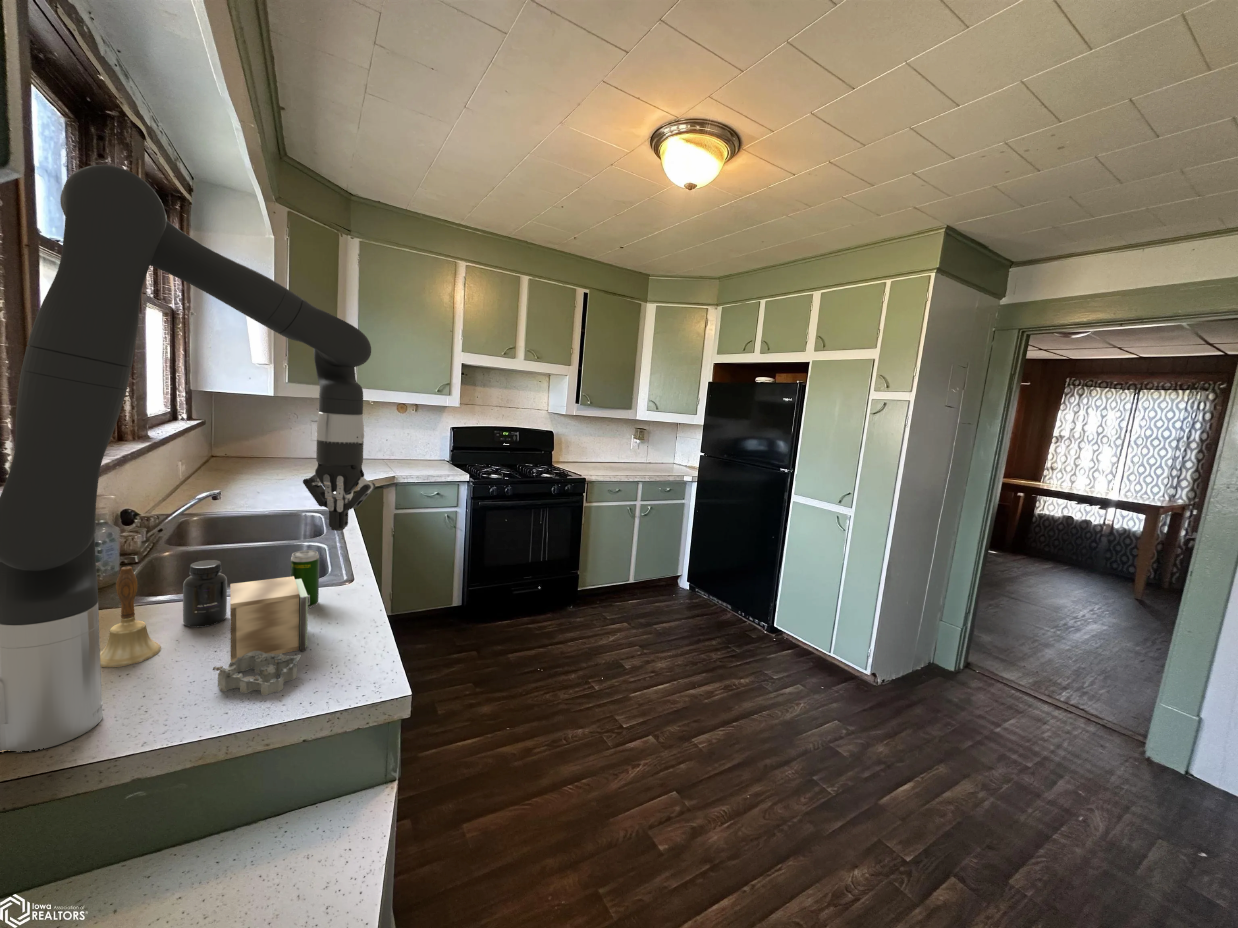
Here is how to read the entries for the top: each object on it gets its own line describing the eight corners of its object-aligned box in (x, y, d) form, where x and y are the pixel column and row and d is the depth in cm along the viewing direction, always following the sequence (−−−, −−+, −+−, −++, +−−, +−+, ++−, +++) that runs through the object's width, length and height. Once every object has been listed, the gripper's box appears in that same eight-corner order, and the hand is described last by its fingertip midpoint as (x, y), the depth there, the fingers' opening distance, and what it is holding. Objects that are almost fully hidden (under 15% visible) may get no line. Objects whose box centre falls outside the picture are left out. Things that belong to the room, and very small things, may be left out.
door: (299, 647, 93) (300, 597, 91) (293, 626, 100) (294, 579, 99) (313, 645, 94) (314, 595, 93) (306, 624, 101) (307, 577, 100)
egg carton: (208, 691, 79) (207, 667, 78) (247, 666, 86) (246, 644, 86) (271, 699, 78) (271, 675, 78) (305, 673, 86) (305, 651, 85)
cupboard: (230, 666, 85) (230, 605, 84) (230, 639, 94) (230, 583, 93) (305, 651, 92) (306, 595, 91) (299, 627, 101) (299, 575, 99)
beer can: (320, 607, 110) (321, 555, 109) (291, 612, 107) (292, 558, 105) (316, 598, 114) (317, 548, 113) (288, 603, 111) (289, 551, 109)
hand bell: (173, 648, 89) (171, 563, 87) (119, 671, 81) (116, 578, 79) (136, 640, 91) (134, 556, 89) (80, 662, 83) (76, 571, 81)
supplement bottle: (203, 630, 96) (202, 571, 95) (173, 625, 97) (172, 566, 96) (235, 616, 103) (235, 560, 101) (207, 611, 104) (207, 556, 102)
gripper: (291, 436, 87) (290, 531, 89) (364, 443, 86) (362, 538, 89) (318, 433, 94) (316, 521, 96) (386, 440, 94) (383, 528, 96)
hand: (338, 529), depth 92 cm, fingers closed
